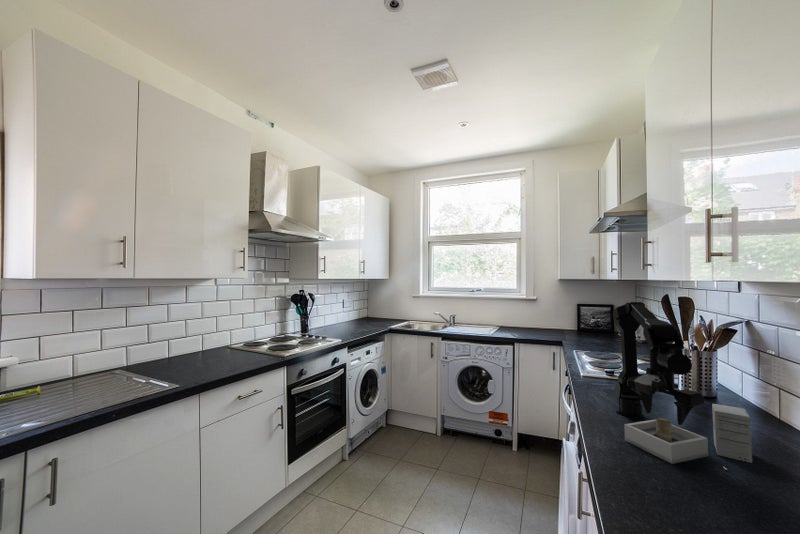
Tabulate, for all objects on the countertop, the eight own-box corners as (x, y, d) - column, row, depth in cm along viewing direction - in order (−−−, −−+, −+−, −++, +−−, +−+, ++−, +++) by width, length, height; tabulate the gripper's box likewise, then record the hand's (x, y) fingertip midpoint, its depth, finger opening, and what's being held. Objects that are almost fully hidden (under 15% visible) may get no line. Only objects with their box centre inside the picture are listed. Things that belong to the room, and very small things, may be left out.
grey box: (624, 440, 105) (624, 424, 105) (658, 434, 109) (657, 418, 109) (671, 463, 91) (671, 445, 92) (708, 456, 95) (707, 438, 95)
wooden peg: (654, 442, 101) (653, 419, 102) (663, 441, 102) (661, 417, 103) (666, 448, 98) (664, 423, 98) (675, 446, 99) (673, 422, 99)
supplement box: (713, 445, 102) (711, 402, 102) (748, 452, 97) (746, 408, 98) (715, 455, 96) (713, 410, 96) (753, 463, 91) (750, 416, 92)
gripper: (613, 360, 108) (614, 410, 107) (674, 376, 90) (677, 435, 89) (639, 358, 111) (641, 406, 110) (704, 373, 93) (706, 430, 92)
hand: (663, 418), depth 100 cm, fingers open, 9 cm apart
